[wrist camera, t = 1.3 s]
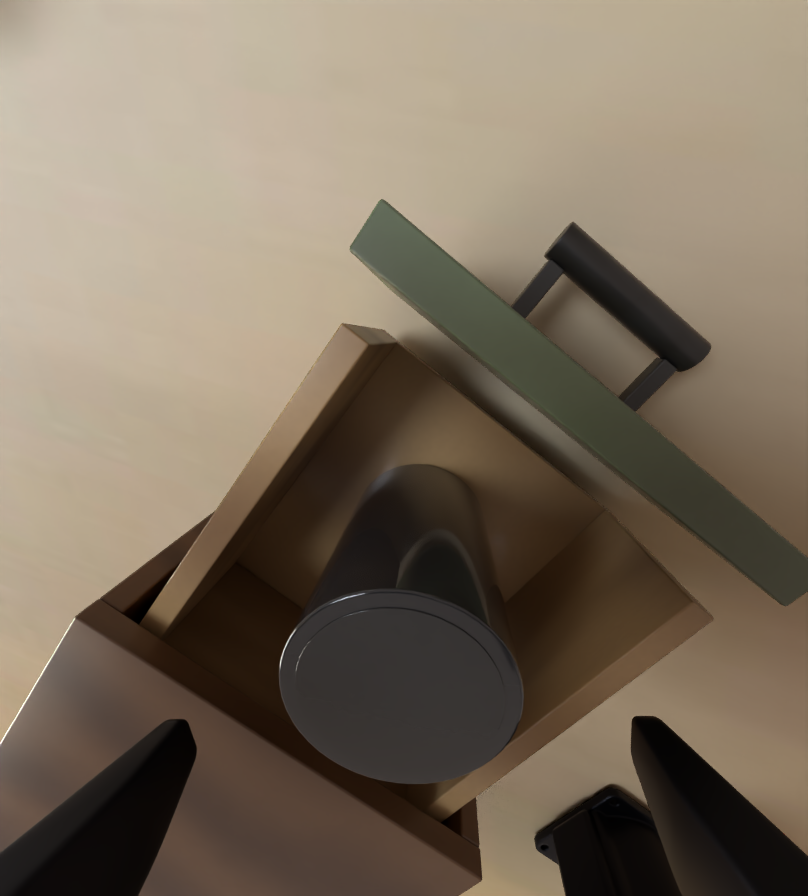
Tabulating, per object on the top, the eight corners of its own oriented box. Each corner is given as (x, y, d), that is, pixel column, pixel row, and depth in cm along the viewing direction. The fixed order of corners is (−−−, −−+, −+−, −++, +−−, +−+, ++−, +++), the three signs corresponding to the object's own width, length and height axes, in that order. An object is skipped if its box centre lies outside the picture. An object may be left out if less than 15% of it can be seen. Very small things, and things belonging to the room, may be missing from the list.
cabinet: (236, 493, 19) (73, 616, 10) (466, 658, 20) (482, 881, 12) (105, 686, 23) (-81, 878, 15) (299, 809, 25) (227, 1045, 16)
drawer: (475, 165, 13) (509, -6, 7) (746, 404, 14) (998, 458, 8) (214, 541, 18) (90, 652, 12) (429, 692, 20) (423, 865, 13)
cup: (511, 517, 15) (581, 695, 8) (428, 601, 17) (417, 820, 9) (407, 436, 15) (370, 540, 7) (331, 530, 16) (234, 700, 9)
